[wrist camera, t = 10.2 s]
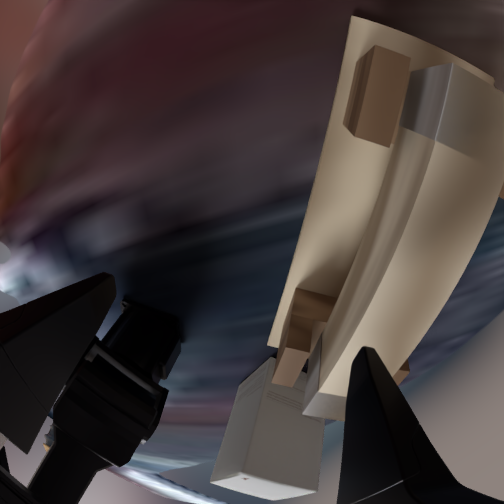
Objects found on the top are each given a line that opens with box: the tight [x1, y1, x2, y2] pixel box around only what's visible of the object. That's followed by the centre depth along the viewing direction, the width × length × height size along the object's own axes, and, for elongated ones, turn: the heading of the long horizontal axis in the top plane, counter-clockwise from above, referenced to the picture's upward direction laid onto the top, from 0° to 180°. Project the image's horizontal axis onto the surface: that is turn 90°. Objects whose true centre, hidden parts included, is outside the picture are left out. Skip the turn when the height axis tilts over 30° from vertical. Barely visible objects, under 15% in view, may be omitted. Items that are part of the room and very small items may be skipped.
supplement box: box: [210, 357, 325, 500], centre depth 24 cm, size 7×7×13 cm
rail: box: [302, 63, 504, 421], centre depth 14 cm, size 4×20×5 cm, turn 170°
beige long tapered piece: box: [267, 16, 504, 388], centre depth 16 cm, size 10×26×7 cm, turn 170°
